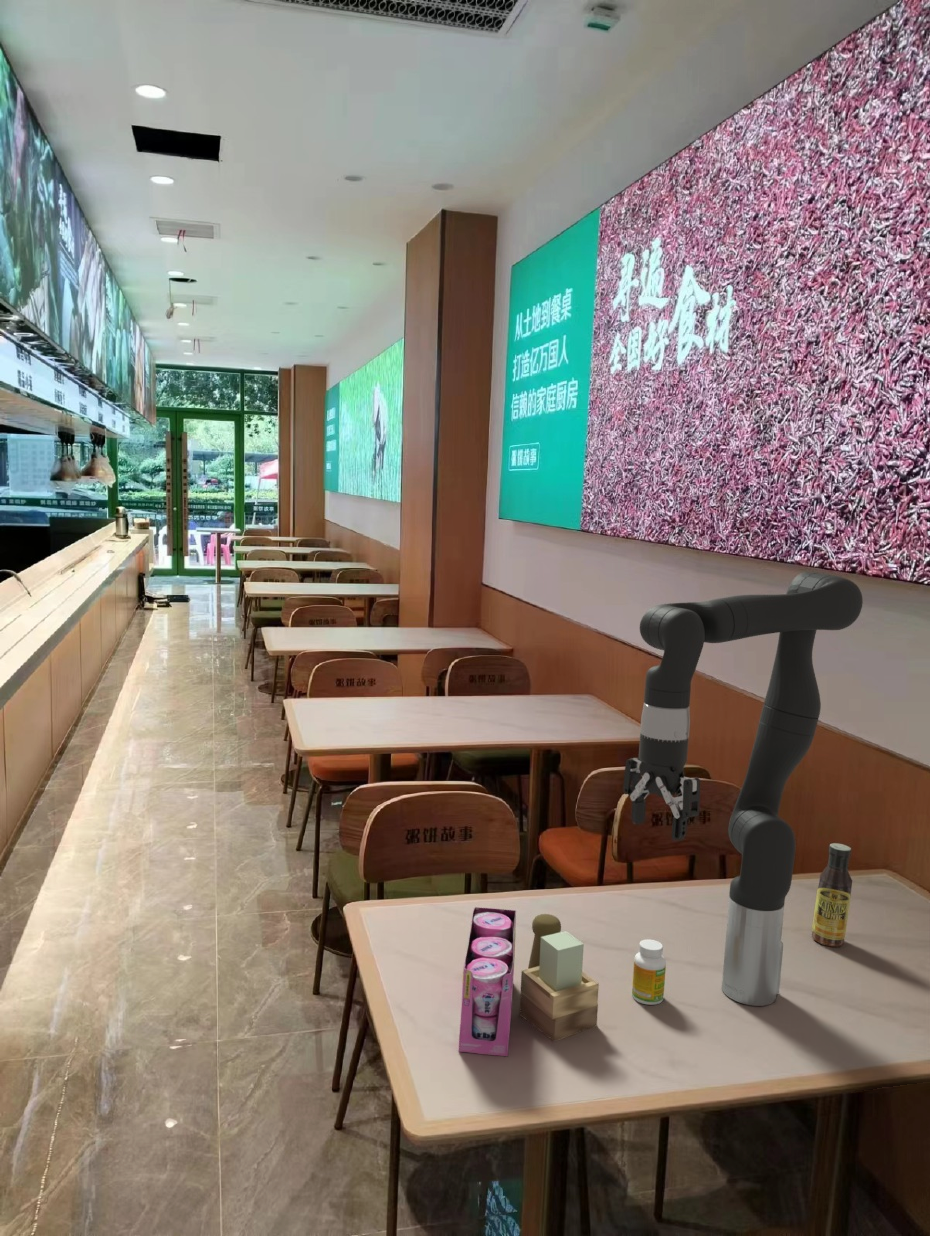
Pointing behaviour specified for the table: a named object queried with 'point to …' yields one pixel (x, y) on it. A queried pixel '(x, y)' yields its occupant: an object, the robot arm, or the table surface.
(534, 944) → the cork
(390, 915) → the table surface
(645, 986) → the supplement bottle
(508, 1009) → the gum box
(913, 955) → the table surface
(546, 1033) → the block bottom
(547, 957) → the green block
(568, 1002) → the block top
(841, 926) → the sauce bottle
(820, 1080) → the table surface
